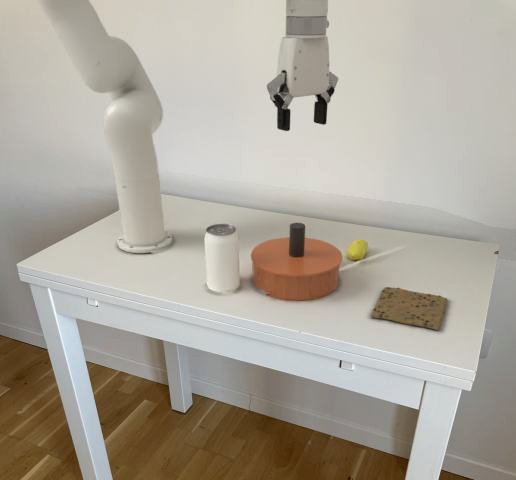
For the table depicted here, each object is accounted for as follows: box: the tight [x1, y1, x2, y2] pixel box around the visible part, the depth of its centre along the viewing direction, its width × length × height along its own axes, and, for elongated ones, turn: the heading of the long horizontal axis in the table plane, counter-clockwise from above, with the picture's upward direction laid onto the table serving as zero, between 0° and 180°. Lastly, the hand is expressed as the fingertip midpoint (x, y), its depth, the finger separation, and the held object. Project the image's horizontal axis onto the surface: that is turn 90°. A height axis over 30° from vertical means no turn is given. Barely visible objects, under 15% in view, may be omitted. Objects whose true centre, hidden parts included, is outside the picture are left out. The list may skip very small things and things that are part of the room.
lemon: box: [346, 238, 369, 261], centre depth 117 cm, size 4×8×4 cm, turn 153°
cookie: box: [371, 286, 448, 331], centre depth 99 cm, size 12×12×1 cm
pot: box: [251, 261, 340, 302], centre depth 108 cm, size 17×17×5 cm
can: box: [203, 223, 241, 293], centre depth 104 cm, size 6×6×12 cm
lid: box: [250, 222, 343, 277], centre depth 105 cm, size 18×18×7 cm
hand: (302, 126), depth 108 cm, fingers open, 9 cm apart
